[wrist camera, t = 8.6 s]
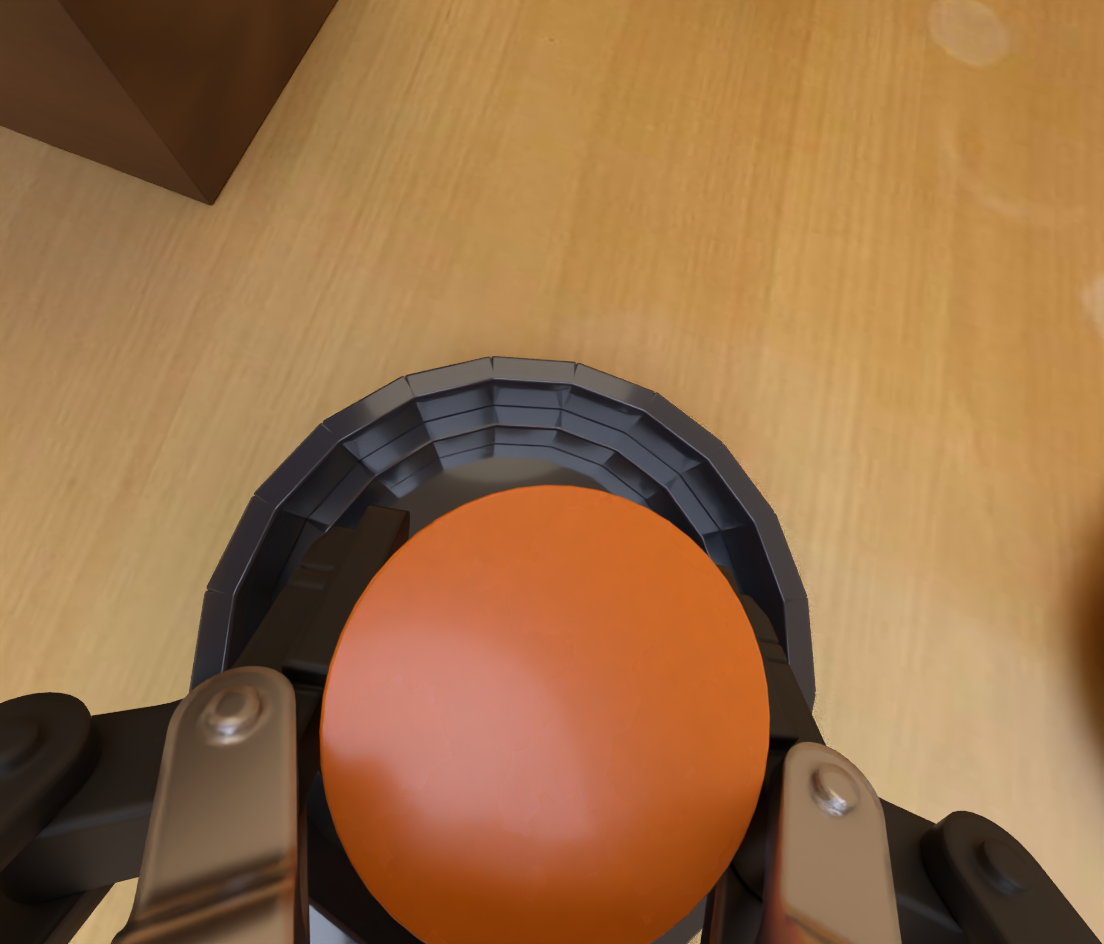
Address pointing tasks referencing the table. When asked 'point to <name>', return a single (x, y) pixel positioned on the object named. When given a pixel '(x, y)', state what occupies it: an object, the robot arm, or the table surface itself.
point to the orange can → (544, 724)
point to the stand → (151, 79)
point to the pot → (465, 475)
